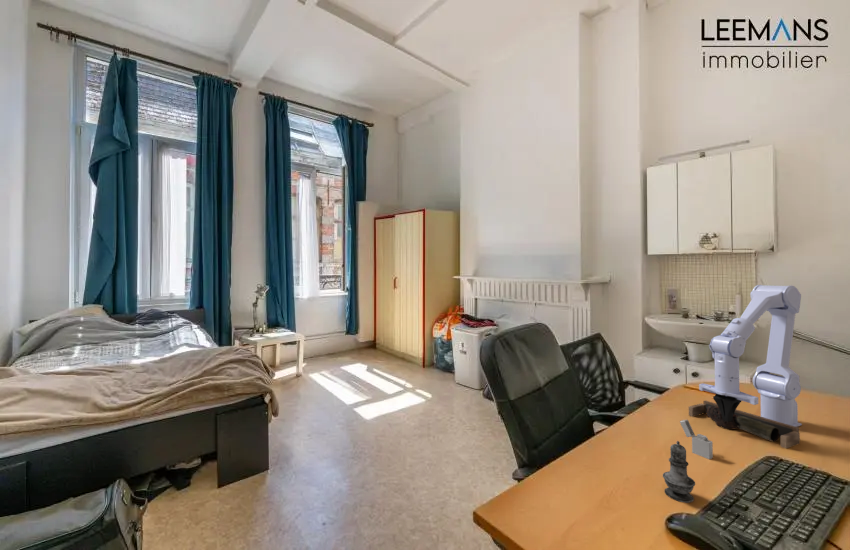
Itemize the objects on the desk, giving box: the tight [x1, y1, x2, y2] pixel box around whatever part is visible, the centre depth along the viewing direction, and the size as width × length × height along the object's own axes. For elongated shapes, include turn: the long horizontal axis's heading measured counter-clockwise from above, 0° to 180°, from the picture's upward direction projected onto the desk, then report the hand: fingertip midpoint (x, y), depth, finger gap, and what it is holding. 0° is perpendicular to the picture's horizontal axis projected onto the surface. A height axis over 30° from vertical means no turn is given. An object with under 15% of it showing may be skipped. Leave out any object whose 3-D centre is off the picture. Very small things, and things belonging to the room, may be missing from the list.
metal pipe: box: [706, 406, 780, 442], centre depth 110 cm, size 18×7×6 cm, turn 20°
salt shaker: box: [662, 440, 696, 504], centre depth 79 cm, size 6×6×12 cm
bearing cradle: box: [688, 400, 801, 449], centre depth 111 cm, size 8×25×4 cm, turn 22°
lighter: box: [679, 419, 714, 460], centre depth 97 cm, size 7×2×8 cm, turn 27°
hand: (727, 420), depth 109 cm, fingers closed
